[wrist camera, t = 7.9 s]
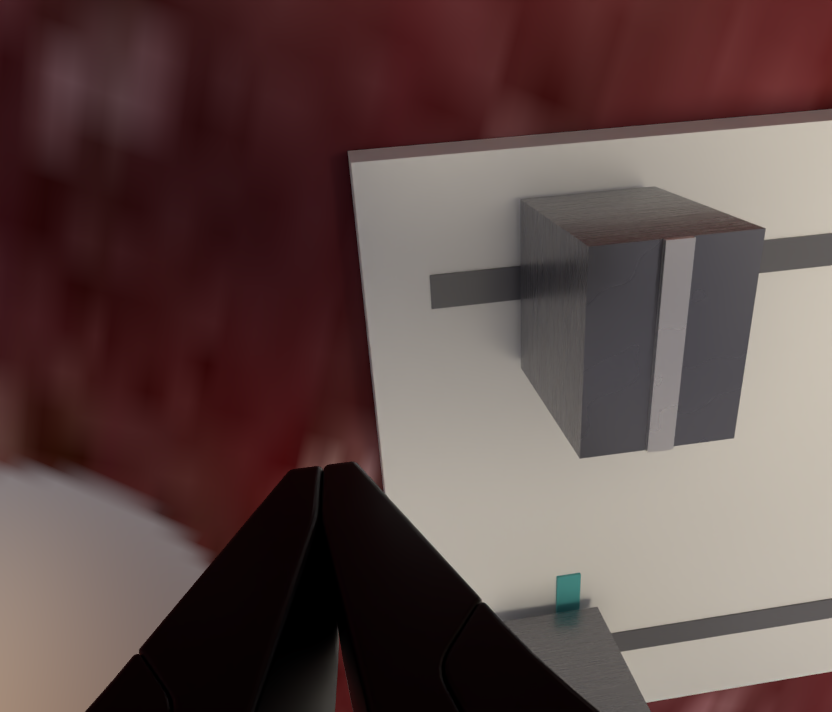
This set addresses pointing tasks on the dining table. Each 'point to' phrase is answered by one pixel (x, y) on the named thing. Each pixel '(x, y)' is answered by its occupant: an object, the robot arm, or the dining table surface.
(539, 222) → the fader
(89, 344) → the dining table surface
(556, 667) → the fader
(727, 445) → the slotted white panel
